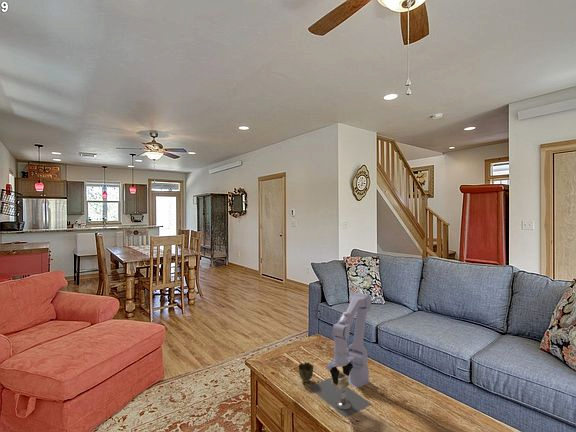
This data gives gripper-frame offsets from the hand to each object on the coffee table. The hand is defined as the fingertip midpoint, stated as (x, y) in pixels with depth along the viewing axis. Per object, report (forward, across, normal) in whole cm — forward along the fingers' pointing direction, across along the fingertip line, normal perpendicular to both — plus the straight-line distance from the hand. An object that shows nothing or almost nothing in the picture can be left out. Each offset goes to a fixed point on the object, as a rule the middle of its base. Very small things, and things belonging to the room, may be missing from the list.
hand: (340, 381), depth 134 cm
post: (+9, 0, +2) cm, 9 cm away
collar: (+2, 0, 0) cm, 2 cm away
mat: (+10, -2, -4) cm, 11 cm away
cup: (+10, +4, -22) cm, 24 cm away
